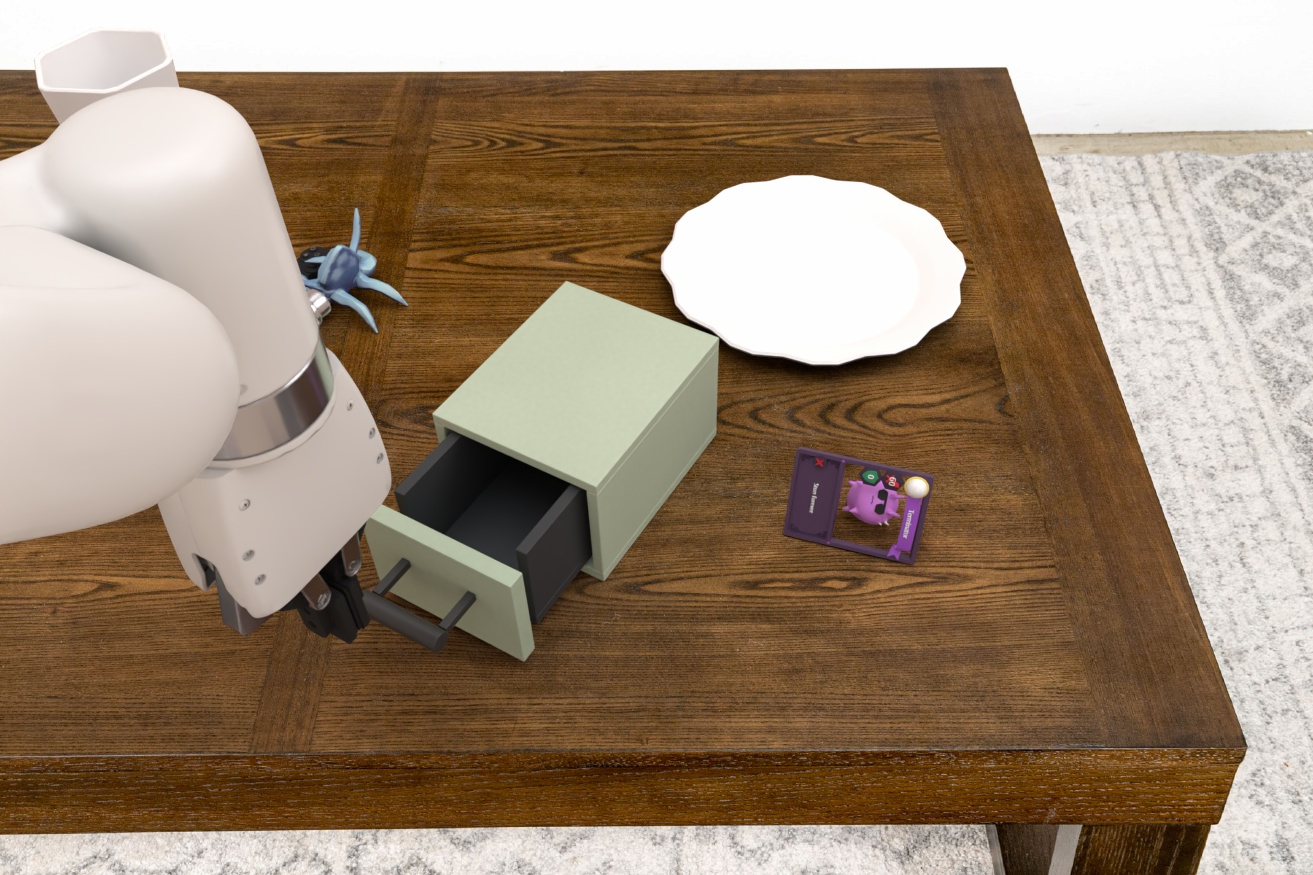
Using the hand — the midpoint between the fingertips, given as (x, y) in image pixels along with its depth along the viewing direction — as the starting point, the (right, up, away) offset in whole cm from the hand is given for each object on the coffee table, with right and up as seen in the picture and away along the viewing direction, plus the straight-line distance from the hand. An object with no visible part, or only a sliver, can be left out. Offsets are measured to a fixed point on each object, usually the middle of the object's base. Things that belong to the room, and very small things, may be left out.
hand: (339, 622), depth 62 cm
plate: (+30, +23, +36) cm, 53 cm away
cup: (-27, +28, +42) cm, 58 cm away
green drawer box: (+12, +8, +21) cm, 26 cm away
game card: (+31, +4, +18) cm, 36 cm away
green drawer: (+7, +1, +14) cm, 16 cm away
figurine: (-10, +22, +36) cm, 43 cm away
